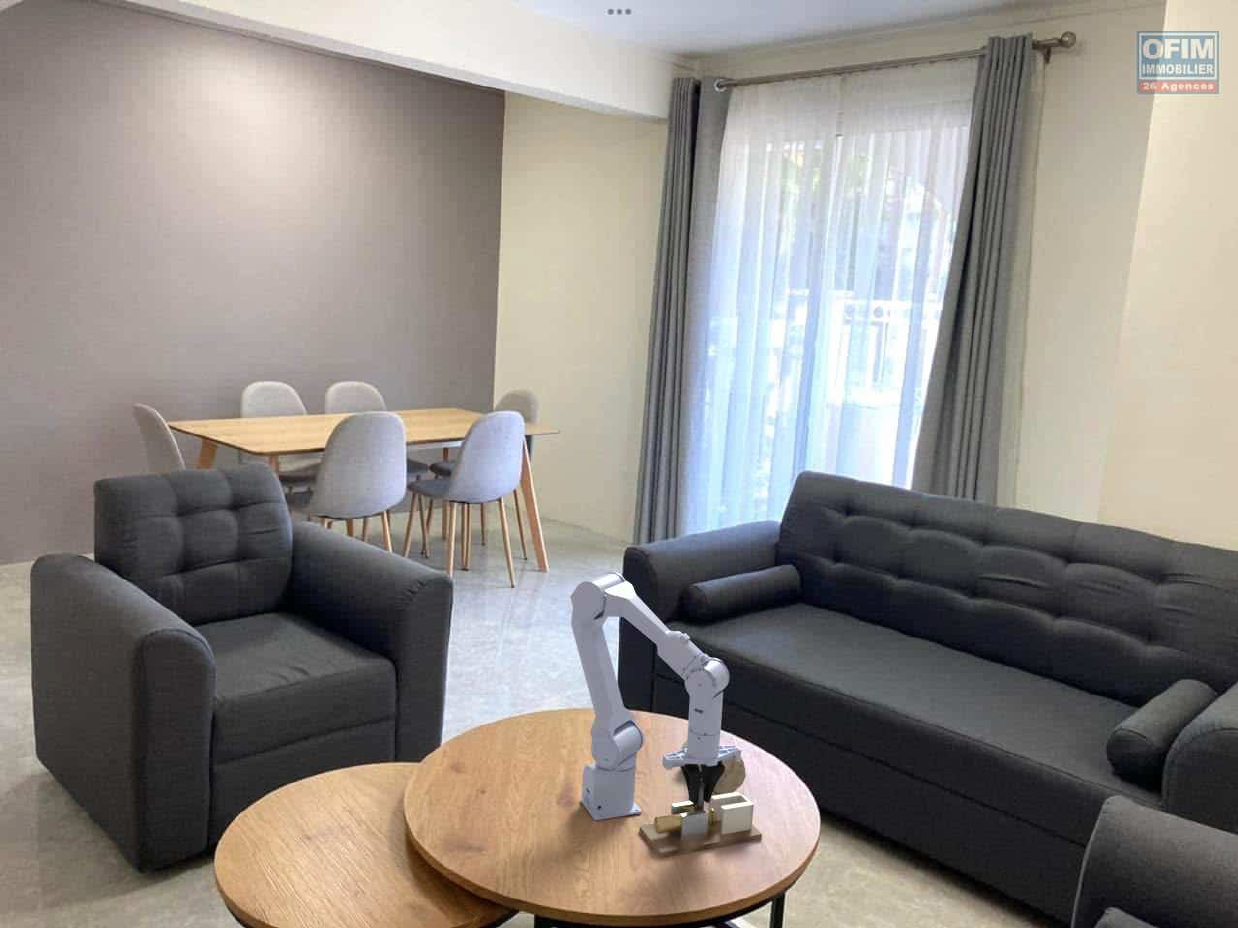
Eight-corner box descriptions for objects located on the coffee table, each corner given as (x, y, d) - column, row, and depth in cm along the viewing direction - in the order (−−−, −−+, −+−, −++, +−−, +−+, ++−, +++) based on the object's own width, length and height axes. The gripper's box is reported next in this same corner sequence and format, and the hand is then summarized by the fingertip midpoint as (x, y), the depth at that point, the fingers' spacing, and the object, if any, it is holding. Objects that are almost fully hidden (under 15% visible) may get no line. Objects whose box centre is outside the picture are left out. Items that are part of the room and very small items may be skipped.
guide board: (660, 857, 170) (662, 827, 169) (639, 831, 178) (641, 802, 178) (761, 838, 178) (764, 809, 177) (737, 814, 186) (739, 786, 185)
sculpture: (696, 790, 188) (732, 751, 189) (667, 748, 205) (700, 712, 205) (725, 815, 191) (760, 776, 192) (694, 772, 207) (727, 736, 208)
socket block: (722, 834, 177) (724, 809, 176) (709, 820, 181) (710, 795, 181) (751, 829, 179) (753, 804, 178) (738, 815, 184) (739, 791, 183)
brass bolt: (660, 837, 173) (663, 790, 172) (653, 829, 176) (656, 783, 174) (716, 827, 177) (719, 782, 176) (708, 819, 180) (711, 774, 179)
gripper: (676, 743, 168) (672, 817, 170) (751, 733, 174) (746, 805, 176) (659, 726, 175) (655, 798, 177) (732, 717, 180) (727, 787, 182)
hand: (699, 800), depth 177 cm, fingers closed on brass bolt, 2 cm apart
